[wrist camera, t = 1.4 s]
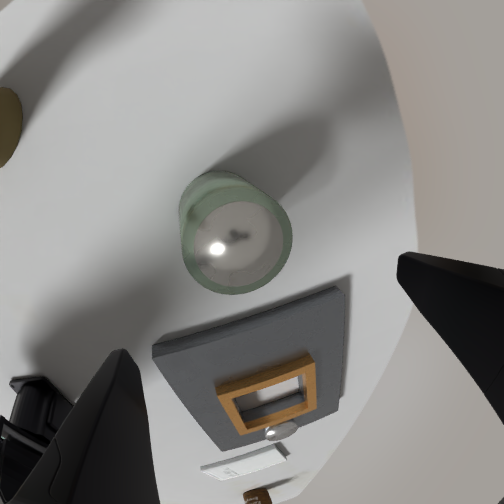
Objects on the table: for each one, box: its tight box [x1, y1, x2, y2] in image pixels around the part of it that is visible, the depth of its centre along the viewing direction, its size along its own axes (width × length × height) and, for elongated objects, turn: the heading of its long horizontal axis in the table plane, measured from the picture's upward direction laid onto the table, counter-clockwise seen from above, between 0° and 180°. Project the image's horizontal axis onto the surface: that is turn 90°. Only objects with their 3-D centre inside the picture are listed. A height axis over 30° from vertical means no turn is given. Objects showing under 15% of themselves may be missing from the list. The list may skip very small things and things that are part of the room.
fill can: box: [179, 171, 292, 295], centre depth 15 cm, size 5×5×6 cm
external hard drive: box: [200, 444, 287, 481], centre depth 34 cm, size 2×8×12 cm
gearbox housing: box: [152, 286, 345, 452], centre depth 25 cm, size 16×20×2 cm
